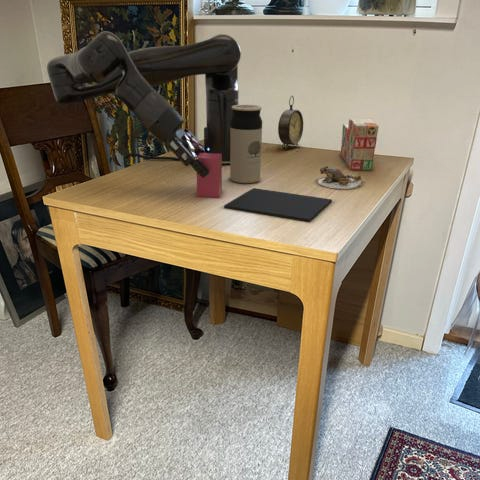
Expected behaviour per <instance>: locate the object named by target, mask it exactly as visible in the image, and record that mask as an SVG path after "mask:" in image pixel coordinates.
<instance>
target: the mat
mask: <svg viewBox="0 0 480 480" xmlns="http://www.w3.org/2000/svg"><path fill="white" fill-rule="evenodd" d="M332 202H333V200H332V198H325V197H317V196H311V195H305V194H297V193H290V192H284V191H283V192H282V191H278V190H277V191H276V190H270V189H264V188H263V189H262V188H256V187H253V188H251V189H249V190H248V191H246V192H244V193H243V194H241V195H239V196H237V197H236V198H235V199H232V200H231V201H229V202H227V203H226V204H224V206H223V207H224V209H228V210H234V211H240V212H245V213H252V214H259V215H264V216H271V217H275V218H276V217H277V218H281V219H283V218H284V219H288V220H289V219H290V220H296V221H301V222H307V223H310V222H312V220H314V219H315V218H316V217H317V216H318V215H319V214H320V213H322V211H323V210H325V209H326V208H327V207H328V206H329V205H331V203H332Z"/></svg>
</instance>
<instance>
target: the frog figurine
mask: <svg viewBox="0 0 480 480" xmlns="http://www.w3.org/2000/svg"><path fill="white" fill-rule="evenodd" d="M319 173H320V175H324V174H325V176H326V177H325V178H323V177H322V178H319V179H317V183H318V185H320V186H322V187H327V188H330V189H335V190H353V189H358V188H360V187H361V185H362V183H363V178H362V175H360V174H358V175H355V176H354V175H351V174H344V173H343V172H342V170H341V169H339V168H334V167H333V168H332V167H329V166H328V165H326V166H324V167H321V168H320V169H319Z"/></svg>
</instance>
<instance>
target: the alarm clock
mask: <svg viewBox="0 0 480 480" xmlns="http://www.w3.org/2000/svg"><path fill="white" fill-rule="evenodd" d="M291 98H292V104H291ZM294 103H295V98H294V95H290V97H289V100H288V105H289V109H285V110H284V111H283V112H282V113H281V115H280V117H279V120H278V124H277V132H278V133H277V134H278V139H279V141H280V142H281V143H282V144H283V145H282V147H284V146H285V148H284V150H285V151H287V150H288V147H289V146H299V143H300V141H301V139H302V136H303V134H304V133H303V131H304V117H303V114H302V112H301V111H300V110H299V109H293V107H294Z"/></svg>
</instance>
